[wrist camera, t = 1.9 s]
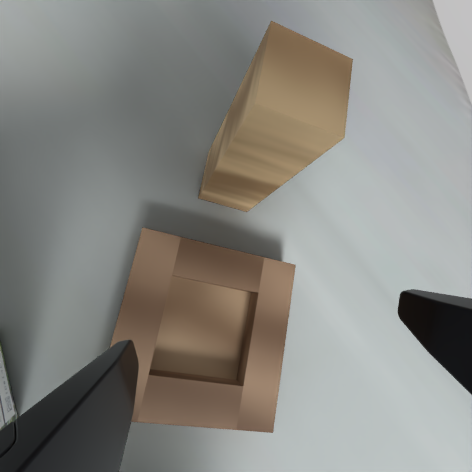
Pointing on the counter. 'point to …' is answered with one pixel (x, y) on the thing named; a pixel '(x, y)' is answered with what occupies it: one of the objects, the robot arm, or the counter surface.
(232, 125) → the peg
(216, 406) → the socket
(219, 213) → the counter surface
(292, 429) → the counter surface
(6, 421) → the syrup box
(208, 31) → the counter surface
